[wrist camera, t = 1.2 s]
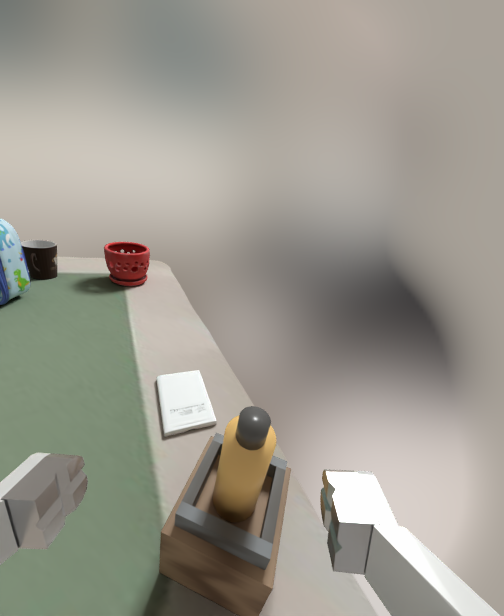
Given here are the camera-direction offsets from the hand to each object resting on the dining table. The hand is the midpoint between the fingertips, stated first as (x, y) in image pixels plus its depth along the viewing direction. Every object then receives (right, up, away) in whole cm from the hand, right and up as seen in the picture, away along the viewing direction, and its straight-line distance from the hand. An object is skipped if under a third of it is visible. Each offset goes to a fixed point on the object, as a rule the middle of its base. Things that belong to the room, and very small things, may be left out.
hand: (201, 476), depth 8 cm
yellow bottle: (0, -13, +17) cm, 21 cm away
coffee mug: (-63, +15, +68) cm, 94 cm away
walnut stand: (-1, -20, +20) cm, 28 cm away
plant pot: (-40, +14, +77) cm, 88 cm away
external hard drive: (-10, -12, +36) cm, 39 cm away
